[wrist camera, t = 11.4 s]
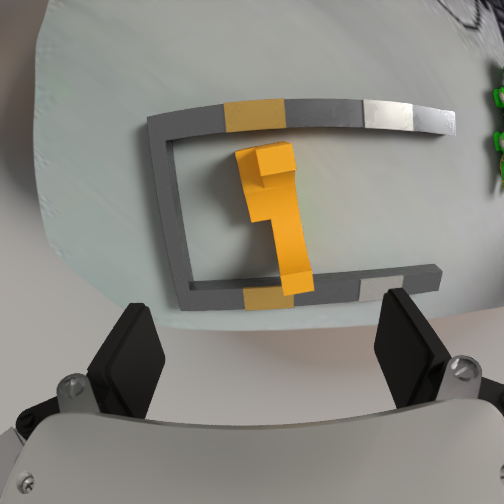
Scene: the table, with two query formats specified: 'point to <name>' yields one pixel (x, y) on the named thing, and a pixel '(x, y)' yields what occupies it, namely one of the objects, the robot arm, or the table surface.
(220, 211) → the table surface
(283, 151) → the pipe clamp
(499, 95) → the crocodile figurine
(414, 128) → the rail frame
